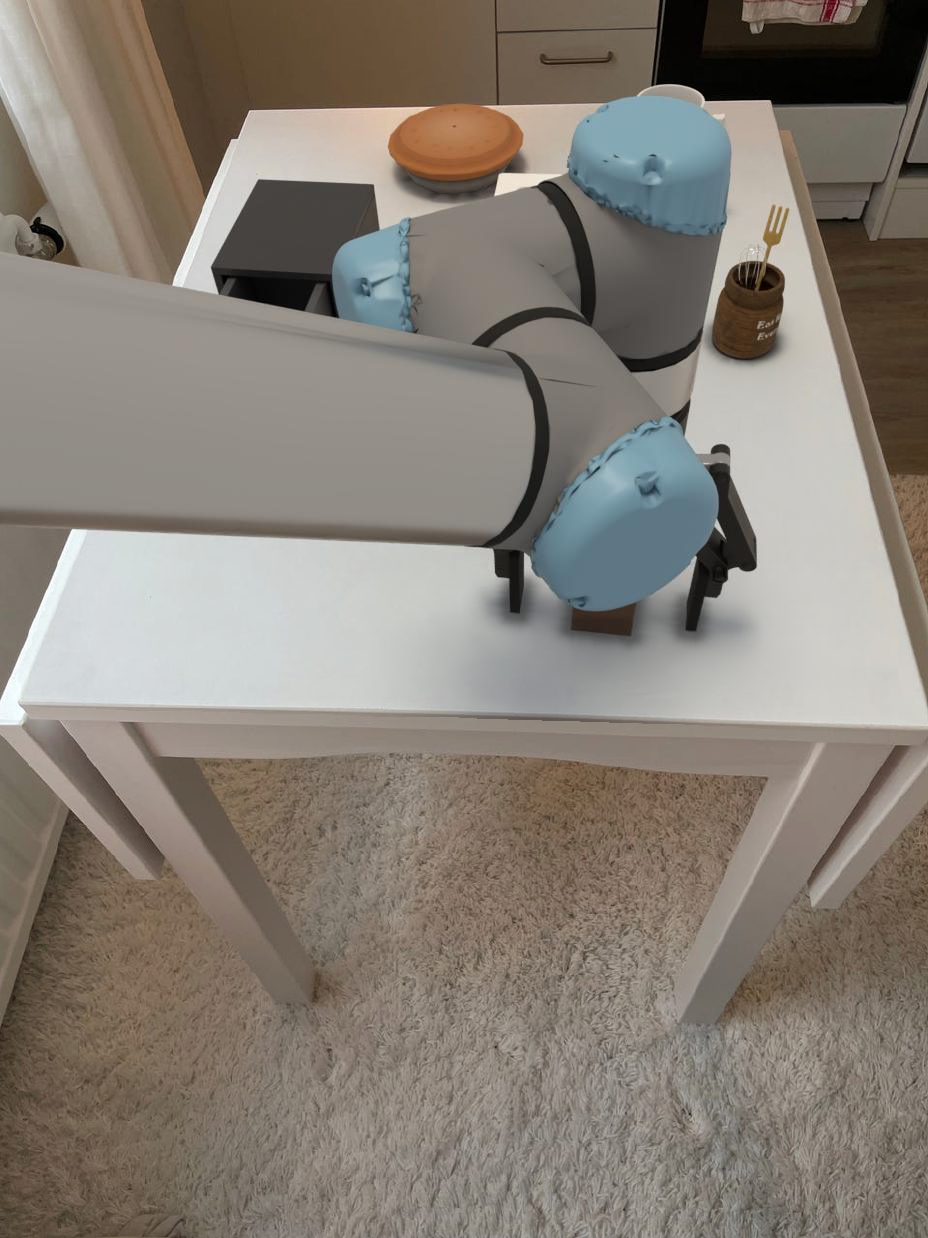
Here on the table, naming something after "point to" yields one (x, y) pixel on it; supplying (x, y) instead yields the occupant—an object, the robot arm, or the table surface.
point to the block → (604, 620)
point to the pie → (455, 147)
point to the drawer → (283, 293)
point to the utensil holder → (751, 301)
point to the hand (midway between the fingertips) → (603, 607)
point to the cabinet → (295, 230)
